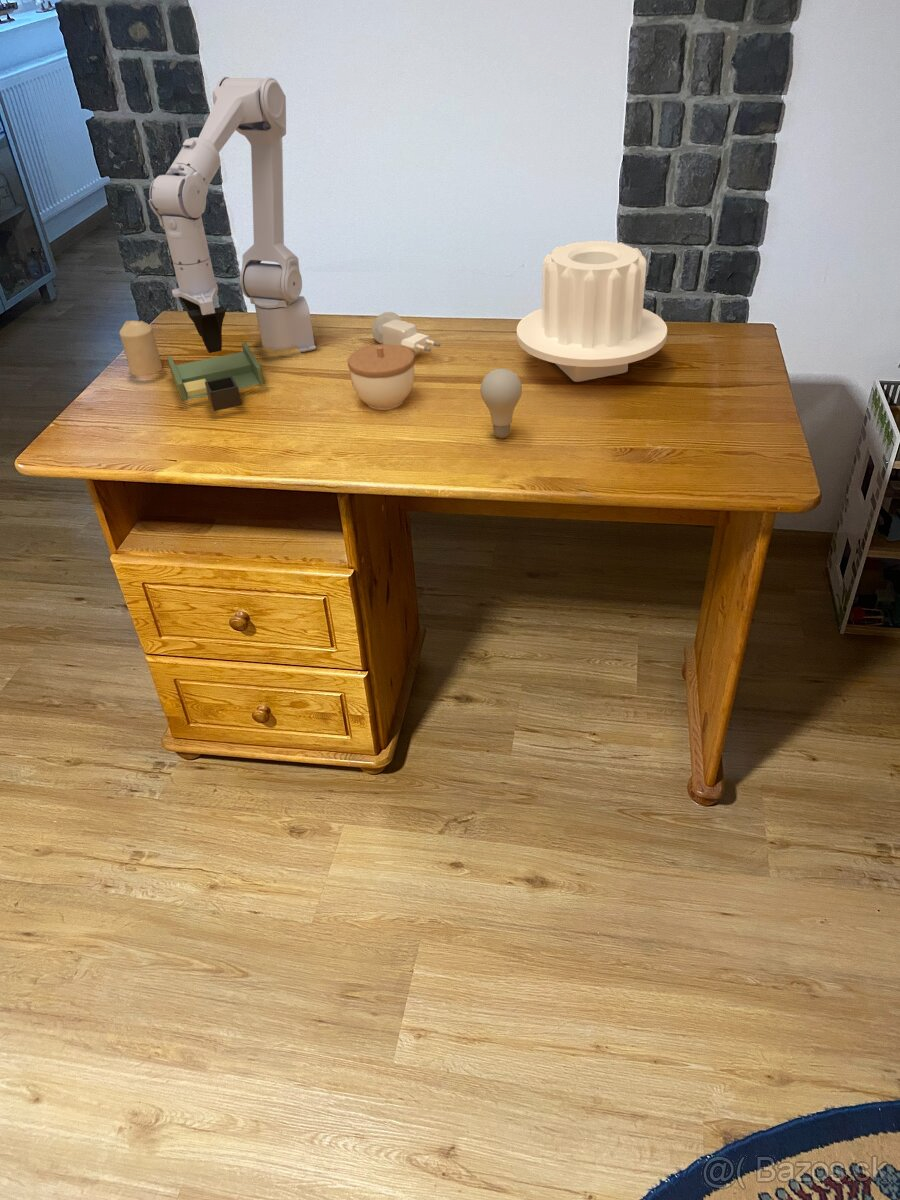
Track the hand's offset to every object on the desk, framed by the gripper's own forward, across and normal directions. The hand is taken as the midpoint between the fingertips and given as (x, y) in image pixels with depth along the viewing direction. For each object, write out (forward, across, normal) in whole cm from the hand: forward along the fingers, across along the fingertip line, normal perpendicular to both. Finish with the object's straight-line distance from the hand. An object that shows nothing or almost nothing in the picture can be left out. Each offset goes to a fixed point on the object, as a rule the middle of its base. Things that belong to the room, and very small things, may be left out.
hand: (210, 342), depth 149 cm
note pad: (+8, -2, -4) cm, 9 cm away
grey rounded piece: (+10, -9, +33) cm, 36 cm away
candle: (+10, -15, -10) cm, 21 cm away
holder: (+10, +5, 0) cm, 11 cm away
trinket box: (+10, +15, +24) cm, 30 cm away
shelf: (+10, -5, 0) cm, 11 cm away
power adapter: (+10, +1, +34) cm, 36 cm away
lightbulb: (+10, +35, +36) cm, 51 cm away
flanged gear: (+10, +19, +60) cm, 64 cm away
